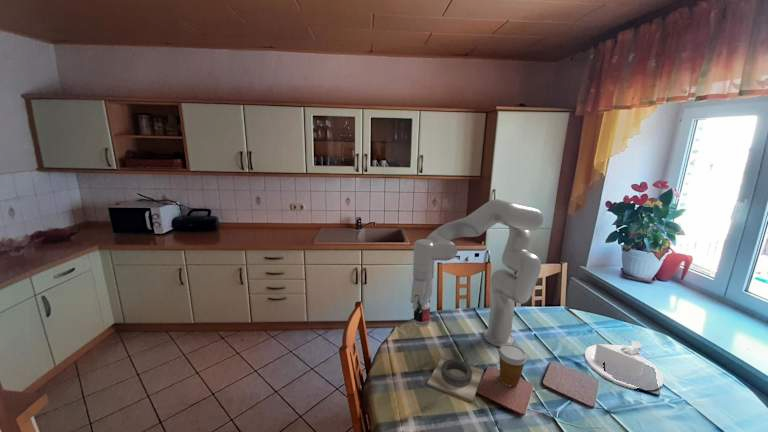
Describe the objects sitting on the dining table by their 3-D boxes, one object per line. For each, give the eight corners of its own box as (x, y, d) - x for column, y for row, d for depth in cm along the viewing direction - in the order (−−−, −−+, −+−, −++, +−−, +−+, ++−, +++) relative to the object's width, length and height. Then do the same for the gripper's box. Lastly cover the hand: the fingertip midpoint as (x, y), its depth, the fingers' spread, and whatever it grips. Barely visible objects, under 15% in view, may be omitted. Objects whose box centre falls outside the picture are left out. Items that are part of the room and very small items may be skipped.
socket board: (442, 358, 128) (442, 349, 127) (483, 372, 120) (484, 363, 119) (427, 384, 114) (427, 374, 113) (472, 402, 107) (473, 392, 106)
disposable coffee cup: (510, 393, 111) (514, 363, 108) (489, 375, 119) (492, 347, 116) (529, 384, 115) (533, 355, 112) (508, 367, 123) (511, 340, 120)
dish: (651, 357, 131) (657, 333, 128) (673, 401, 109) (681, 373, 106) (581, 340, 141) (585, 317, 138) (589, 378, 119) (594, 351, 116)
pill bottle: (432, 324, 123) (434, 298, 120) (420, 329, 120) (421, 303, 117) (422, 317, 128) (423, 291, 125) (410, 322, 125) (410, 296, 122)
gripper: (422, 263, 128) (421, 303, 132) (403, 279, 113) (402, 324, 117) (440, 266, 124) (438, 308, 129) (423, 284, 109) (422, 330, 114)
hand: (421, 316), depth 123 cm, fingers closed on pill bottle, 6 cm apart
